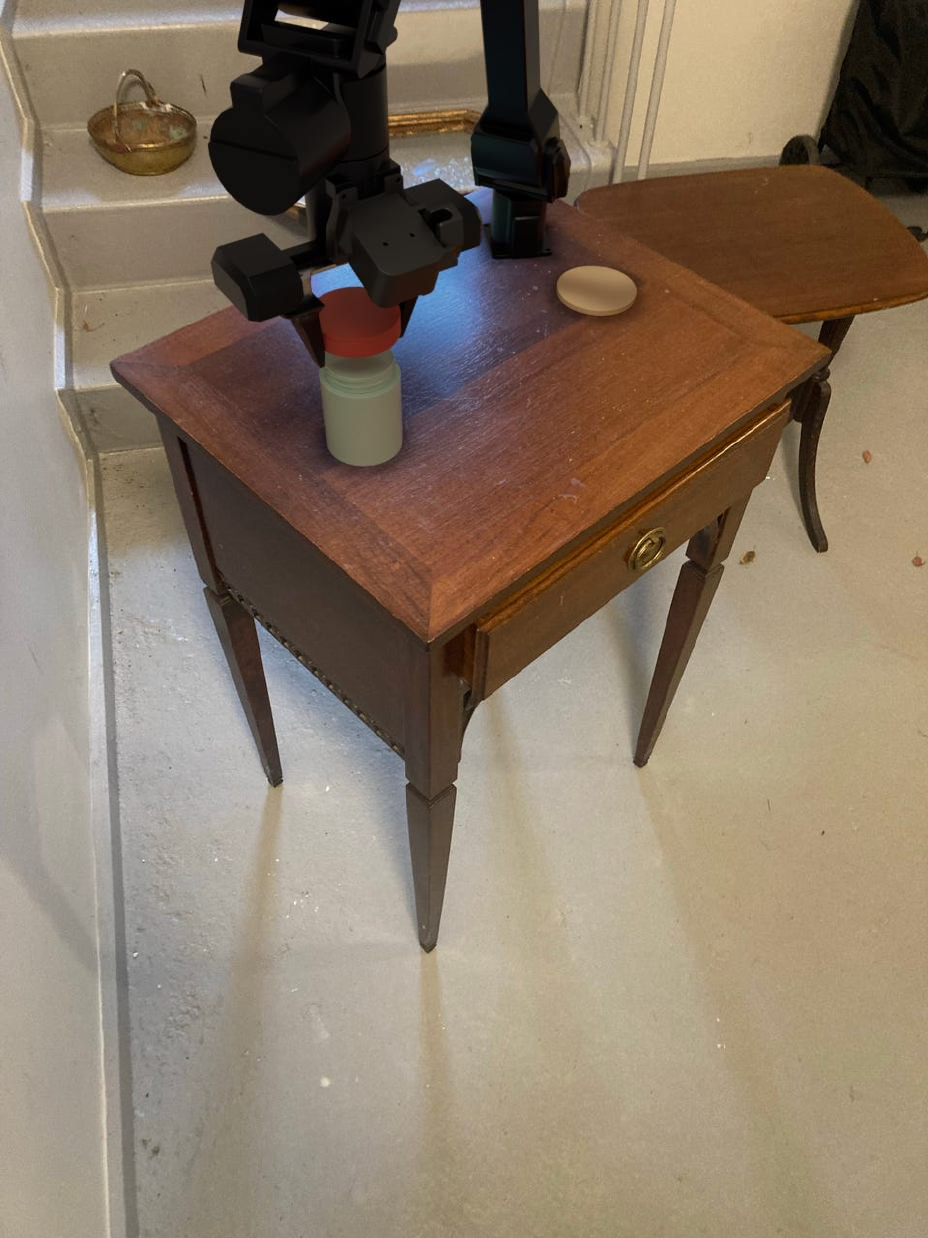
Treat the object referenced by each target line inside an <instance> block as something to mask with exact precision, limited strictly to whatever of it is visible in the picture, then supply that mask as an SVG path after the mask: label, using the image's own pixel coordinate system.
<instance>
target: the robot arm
mask: <svg viewBox="0 0 928 1238" xmlns="http://www.w3.org/2000/svg"><path fill="white" fill-rule="evenodd" d="M401 2H402V0H244V2H243V8H242V9H243V10H242V14H241V19H240V25H239V29H238V30H239V31H238V35H237V41H236V43H237V44H236V45H237V51H238V52H239V53H240V54H243V55H249V56H253V57H258V58H261V62H262V63H261V64H260V65H258V66H257V67H256V68H254V69H253V70H252V71H250V72H246V73H245V72H244V73H241V74H240V75H238V76H237V77H236V78H234V79H233V80H231V82H230V84H229V92H230V100H231V105H230V106H228V107H227V108H226V109H224V110H223V111H222V112H220V114H218V116H216V118H215V119H214V121H213V124H212V126H211V128H210V135H209V141H208V142H207V151H208V157H209V159H210V163H211V166H212V170H213V171H214V174H215V175H216V177H217V179H218V181H219V183H220V184H221V185H222V186H223V187H224V190H225V191H226V192H227V194H229V195H230V196H231V198H233V199H234V201H236V202H237V203H239V204H240V205H242V207H244V208H245V209H247V210H249V211H251V212H253V213H255V214H258V215H261V216H268V217H270V216H271V217H272V216H273V217H275V216H279V215H283V214H284V213H286V212H288V211H289V210H290V209H291V208H293V206H295V205H296V204H297V203H298V202H299V201H300V200H302V198H304V205H305V207H302V208H300V209H297V215H298V223H299V225H300V226H301V227H302V228H303V229H304V230H305V231H307V233H308V240H309V241H306V242H302V243H300V244H296V245H293V246H290V247H287V248H283V249H281V248H280V247H279V246H278V245H276V243H275V242H274V241H272V239H270V238H269V236H267V235H266V234H265V233H264V232H260V233H257V234H254V235H251V236H247V237H243V238H241V239H237V240H235V241H231V242H228V243H225V244H221V245H218V246H217V247H216V249H215V250H214V252H213V254H212V257H211V259H210V263H209V264H210V268H211V273H212V278H213V282H214V285H215V287H216V288H217V289H218V290H219V291H220V292H221V293H222V294H223V295H224V296H225V297H226V298H227V299H228V300H229V301H230V302H231V304H232V305H233V306H234V307H235V308H236V309H237V310H238V311H239V313H241V315H242V316H243V317H245V319H246V320H247V321H248V322H253V323H263V322H266V321H269V320H272V319H274V318H277V317H281V318H282V319H284V320H289V321H290V323H291V325H292V326H293V328H294V329H295V331H296V333H297V335H298V337H299V338H300V340H301V342H302V343H303V345H304V347H305V348H306V350H307V352H308V354H309V356H310V358H311V359H312V361H313V362H314V363H315V364H316V366H317V367H318V368H319V369H320V368H323V367H325V353H326V351H325V348H324V342H323V336H322V330H321V324H320V318H319V313H320V312H321V311H322V309H323V308H324V307H325V304H324V303H323V302H322V301H321V300H320V299H319V298H318V297H319V296H317V295H316V294H315V293H313V288H312V277H313V276H314V275H319V274H321V273H323V272H326V271H329V270H333V269H336V268H339V267H341V266H345V265H349V267H350V268H351V270H352V271H353V273H354V275H355V276H356V277H357V279H358V281H359V282H360V283H361V285H362V287H364V288H365V289H366V291H367V293H368V296H369V298H370V299H371V301H372V302H373V303H374V304H375V305H377V306H379V307H381V308H392V307H395V306H397V305H399V307H400V316H401V334H400V337H399V339H402V338H403V337H404V335H405V333H406V330H407V328H408V325H409V323H410V320H411V317H412V315H413V312H414V310H415V307H416V304H417V301H418V299H419V296H422V297H424V296H425V297H426V296H427V295H430V294H431V293H433V291H435V288H436V285H437V281H438V279H439V278H438V277H439V274H440V272H443V271H447V270H449V269H452V268H455V267H457V266H459V265H458V264H459V258H460V256H461V253H464V252H466V251H470V250H472V249H475V248H478V247H481V243H482V240H483V239H482V238H483V236H482V235H484V239H485V242H486V245H487V248H488V251H489V254H490V257H491V259H493V260H509V259H522V258H523V259H524V258H537V257H538V258H539V257H540V258H541V257H550V256H553V253H554V252H553V251H554V249H553V246H552V245H551V242H550V239H549V237H548V234H547V232H546V223H547V215H548V204H550V205H553V204H554V203H555V202H556V200H559V199H563V198H566V197H567V195H568V192H569V182H570V178H571V167H572V160H571V156H570V155H569V152H568V149H567V146H566V144H565V141H564V139H563V138H561V127H560V117H559V111H558V109H557V108H556V106H555V105H554V103H553V102H552V101H551V99H550V98H549V97H548V95H547V94H546V92H545V91H544V90H543V88H542V84H541V51H540V49H541V47H540V46H541V45H540V6H539V5H540V4H539V0H479V8H480V19H481V20H480V21H481V33H482V34H481V35H482V44H483V45H482V46H483V56H484V69H485V71H484V72H485V82H486V93H487V103H486V104H485V106H484V107H483V110H482V112H481V114H480V116H479V118H478V120H477V121H476V123H475V125H474V126H473V129H472V134H471V136H470V138H469V139H470V158H471V166H472V174H473V181H474V187H483V188H488V189H492V195H491V196H492V197H491V198H492V199H491V200H492V201H491V214H490V215H491V217H490V222H486V223H483V217H482V214H481V212H480V209H479V207H478V206H477V205H476V204H475V203H474V202H473V201H471V200H470V199H468V198H467V197H465V196H464V195H463V194H462V193H460V192H459V191H457V190H456V189H455V188H454V187H452V186H451V185H449V183H447V182H445V181H444V180H443V179H441V178H440V177H438V178H435V179H432V180H431V179H430V180H428V181H425V182H422V183H419V184H415V185H412V186H409V187H406V188H405V185H404V183H405V182H404V176H403V174H402V166H401V165H400V164H399V163H397V162H396V161H395V160H394V159H393V158H391V151H390V150H391V149H390V148H391V147H390V128H389V127H390V126H389V123H390V121H389V98H388V97H389V95H388V69H387V68H388V67H387V66H388V65H387V49H388V48H389V47H390V46H391V45H392V44H394V43H395V42H396V41H397V39H398V35H399V32H398V29H397V27H396V26H395V22H396V19H397V16H398V13H399V9H400V5H401ZM279 11H280V12H282V13H283V14H284V15H285V14H286V15H288V16H292V17H293V16H294V17H298V18H303V19H309V20H313V21H318V22H322V23H327V24H325V25H324V26H323V27H321V28H314V27H311V26H305V25H301V24H295V23H290V22H285V21H281V20H276V17H277V15H278V13H279Z"/></svg>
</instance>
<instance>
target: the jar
mask: <svg viewBox="0 0 928 1238" xmlns="http://www.w3.org/2000/svg"><path fill="white" fill-rule="evenodd" d="M318 379H319V389H320V397H321V406H322V415H323V424H324V432H325V439H326V440H325V441H326V447H327V450H328V451H329V453H330V454H331V455H332V457H334V458H335V459H336V460H337V461H339V462H341V463H343V464H346V465H349V466H353V467H374V466H378V465H381V464H384V463H386V462H388V461H390V460H392V459H393V458H394V457H396V456H397V455H398V453H399V452H400V451H401V449H402V446H403V443H404V437H403V436H404V433H403V432H404V431H403V401H402V398H403V397H402V372H401V366H400V364H399V363H398V362H397V360H396V358H395V355H394V352H393V350H392V349H391V348H389V349H388V350H386V351H384V352H382V353H380V354H377V355H373V356H369V357H363V358H346V357H340V356H336V355H333V354H330V353H327V352H326V351H325V367H323V368H319V371H318Z"/></svg>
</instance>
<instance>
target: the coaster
mask: <svg viewBox="0 0 928 1238" xmlns="http://www.w3.org/2000/svg"><path fill="white" fill-rule="evenodd" d="M555 292H556V295H557V298H558V299H559V301H560V302H561V303H562V304H563V305H564V306H566V307H567V308H569V309H570V310H573V311H575V312H577V313H580V314H583V315H588V316H594V317H595V316H596V317H608V316H615V315H618V314H621V313H623V312H626V311H628V310H629V309H631V308H632V306H633V305H634V304H635V302H636V299H637V294H638V289H637V286H636V283H635V282H634V281H633V280H632V279H631V278H630V277H629V276H628V275H626V274H625V273H623V272H621V271H619V270H617V269H614V268H610V267H606V266H600V265H582V266H578V267H574V268H571V269H569V270H567V271H565V272H563V273H562V274H561V275H560V276H559V278H558V279H557V282H556V288H555Z"/></svg>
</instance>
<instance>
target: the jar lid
mask: <svg viewBox="0 0 928 1238" xmlns="http://www.w3.org/2000/svg"><path fill="white" fill-rule="evenodd" d="M317 297H318V298H319V299H320V300H321V301H322V302H323V303H324V304H325V307H324V308H323V309H322V311H321V312H320V313H319V318H320V324H321V330H322V336H323V342H324V348H325V353H326V352H327V353H330V354H333V355H336V356H340V357H346V358H363V357H369V356H373V355H377V354H380V353H382V352H384V351H386V350H388V349H389V348H390V349H391V348H392V347H394V346H395V344H397V342H398V340H399V339H400V338H399V337H400V334H401V316H400V307H399V305H397V306H395V307H392V308H381V307H379V306H377V305H375V304H374V303H373V302H372V301H371V299H370V298H369V296H368V293H367V291H366V289H365V288H364V286H343V287H340V288H334V289H332V290H329V291H327V292H324V293H323V294H321V295H319V296H317Z"/></svg>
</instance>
